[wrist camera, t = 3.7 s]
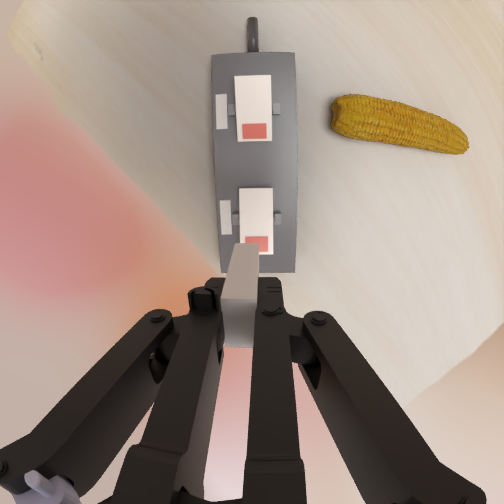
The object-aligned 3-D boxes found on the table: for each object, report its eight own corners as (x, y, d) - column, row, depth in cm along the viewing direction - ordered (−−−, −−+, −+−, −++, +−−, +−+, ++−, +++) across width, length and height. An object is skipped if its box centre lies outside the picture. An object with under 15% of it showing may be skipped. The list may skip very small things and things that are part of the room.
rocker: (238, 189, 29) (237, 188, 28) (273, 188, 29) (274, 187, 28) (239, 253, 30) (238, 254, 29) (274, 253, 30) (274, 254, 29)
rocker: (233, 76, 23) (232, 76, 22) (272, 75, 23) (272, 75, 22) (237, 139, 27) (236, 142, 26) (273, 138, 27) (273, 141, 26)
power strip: (217, 26, 25) (210, 10, 20) (288, 23, 24) (292, 7, 20) (225, 259, 37) (220, 276, 33) (291, 259, 37) (295, 276, 32)
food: (327, 138, 31) (340, 137, 25) (327, 95, 28) (339, 86, 23) (456, 157, 30) (480, 163, 24) (457, 122, 27) (481, 122, 22)
